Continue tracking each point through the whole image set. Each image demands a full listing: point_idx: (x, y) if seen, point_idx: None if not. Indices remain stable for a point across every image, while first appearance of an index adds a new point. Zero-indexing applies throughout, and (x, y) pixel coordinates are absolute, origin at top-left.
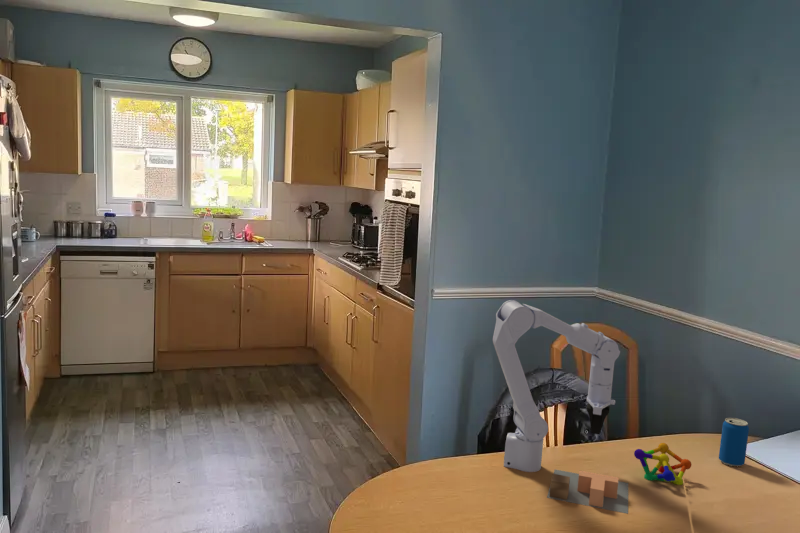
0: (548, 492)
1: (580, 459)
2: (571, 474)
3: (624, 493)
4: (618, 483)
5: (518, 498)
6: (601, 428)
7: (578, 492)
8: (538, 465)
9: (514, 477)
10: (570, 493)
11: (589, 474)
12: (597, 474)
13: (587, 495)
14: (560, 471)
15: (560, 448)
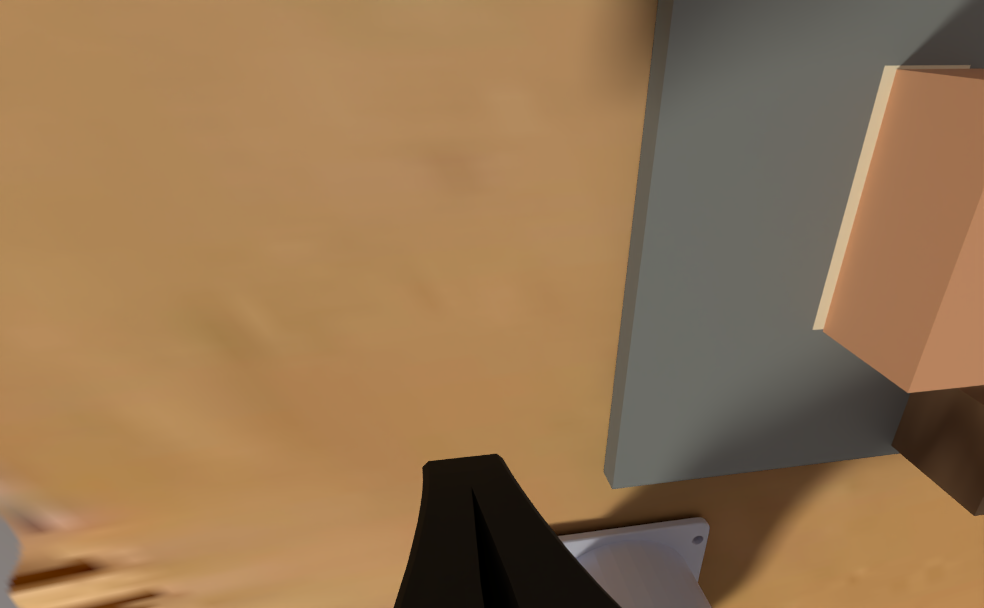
0: None
1: (266, 380)
2: (655, 394)
3: (891, 4)
4: (712, 60)
5: (938, 528)
6: (535, 510)
7: None
8: (680, 577)
9: (725, 597)
10: None
11: (971, 321)
12: (970, 266)
13: None
14: (632, 456)
15: (134, 530)
